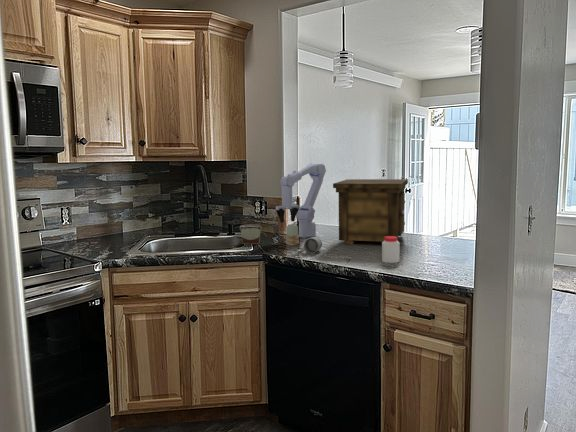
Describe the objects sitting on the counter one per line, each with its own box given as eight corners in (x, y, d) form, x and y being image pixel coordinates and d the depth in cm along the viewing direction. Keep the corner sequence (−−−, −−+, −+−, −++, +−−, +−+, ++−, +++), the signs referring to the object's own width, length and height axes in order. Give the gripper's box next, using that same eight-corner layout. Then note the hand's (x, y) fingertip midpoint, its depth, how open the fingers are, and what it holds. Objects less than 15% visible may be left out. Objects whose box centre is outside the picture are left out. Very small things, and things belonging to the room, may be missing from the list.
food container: (263, 241, 269) (263, 224, 268) (262, 243, 263) (261, 225, 262) (242, 241, 270) (241, 224, 269) (239, 244, 264) (239, 226, 263)
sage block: (292, 234, 264) (292, 225, 263) (298, 235, 260) (297, 225, 260) (286, 235, 261) (286, 226, 260) (291, 236, 257) (291, 226, 257)
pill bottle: (379, 259, 220) (379, 235, 219) (396, 258, 221) (396, 235, 219) (384, 263, 212) (384, 238, 211) (401, 262, 213) (402, 238, 212)
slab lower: (293, 243, 265) (293, 238, 264) (299, 244, 261) (299, 239, 260) (286, 244, 262) (286, 239, 261) (291, 245, 258) (291, 240, 257)
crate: (347, 233, 288) (346, 179, 284) (407, 236, 277) (407, 179, 273) (333, 245, 255) (333, 183, 251) (401, 248, 244) (401, 183, 240)
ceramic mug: (323, 250, 242) (322, 235, 241) (318, 253, 235) (318, 238, 234) (303, 249, 246) (302, 235, 245) (298, 253, 238) (297, 237, 237)
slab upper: (293, 238, 264) (292, 234, 264) (298, 239, 260) (298, 235, 260) (285, 239, 261) (285, 235, 261) (291, 241, 257) (291, 236, 257)
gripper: (293, 196, 277) (293, 220, 279) (272, 198, 269) (272, 222, 270) (300, 197, 271) (300, 221, 273) (279, 198, 263) (280, 223, 265)
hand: (287, 221), depth 271 cm, fingers open, 7 cm apart
